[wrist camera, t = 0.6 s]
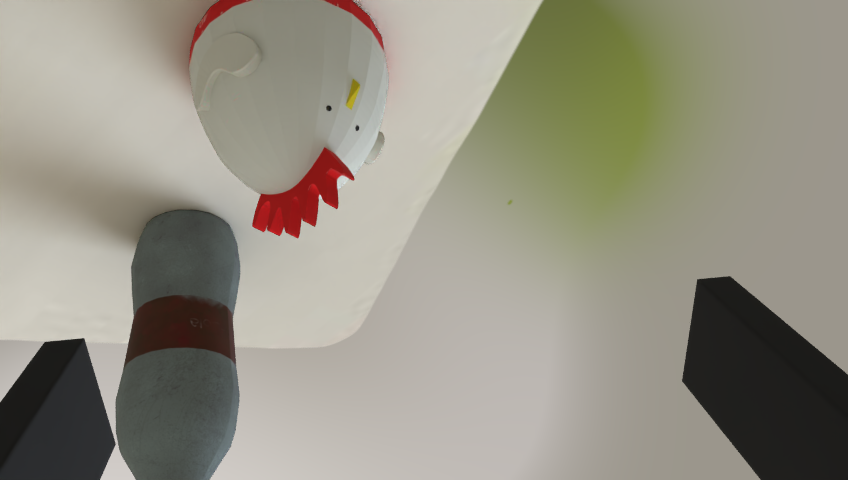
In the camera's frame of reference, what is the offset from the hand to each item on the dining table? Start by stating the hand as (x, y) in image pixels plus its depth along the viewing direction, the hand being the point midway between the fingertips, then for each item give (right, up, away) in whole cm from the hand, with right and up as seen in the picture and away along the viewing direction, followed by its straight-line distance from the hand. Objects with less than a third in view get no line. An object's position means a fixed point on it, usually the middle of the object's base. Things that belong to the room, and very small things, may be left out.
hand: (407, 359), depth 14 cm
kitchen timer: (-9, +16, +34) cm, 38 cm away
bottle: (-22, +3, +48) cm, 53 cm away
